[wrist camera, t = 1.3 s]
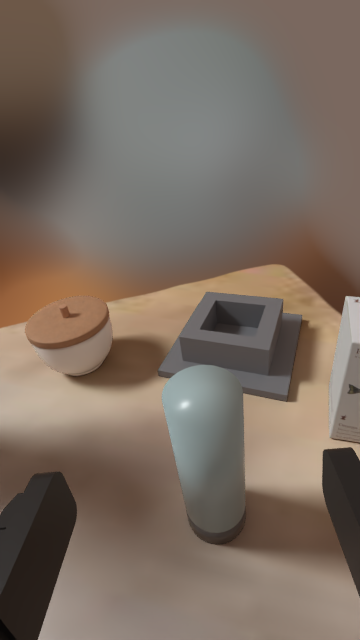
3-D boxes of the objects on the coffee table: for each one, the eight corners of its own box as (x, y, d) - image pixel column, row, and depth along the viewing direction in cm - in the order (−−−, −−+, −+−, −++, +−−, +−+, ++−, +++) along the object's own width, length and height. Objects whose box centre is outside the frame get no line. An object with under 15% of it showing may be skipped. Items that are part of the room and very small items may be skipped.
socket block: (158, 375, 44) (152, 346, 41) (199, 308, 56) (196, 282, 53) (286, 401, 38) (289, 369, 36) (301, 320, 50) (304, 291, 47)
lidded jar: (41, 354, 51) (16, 301, 46) (109, 329, 54) (93, 277, 49) (51, 400, 43) (22, 343, 38) (130, 368, 46) (114, 311, 41)
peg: (179, 531, 29) (148, 414, 20) (198, 477, 32) (179, 359, 24) (237, 553, 27) (230, 435, 18) (251, 494, 31) (250, 372, 22)
